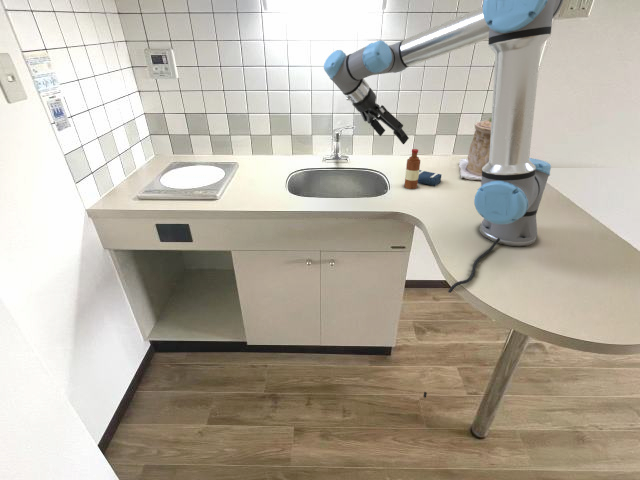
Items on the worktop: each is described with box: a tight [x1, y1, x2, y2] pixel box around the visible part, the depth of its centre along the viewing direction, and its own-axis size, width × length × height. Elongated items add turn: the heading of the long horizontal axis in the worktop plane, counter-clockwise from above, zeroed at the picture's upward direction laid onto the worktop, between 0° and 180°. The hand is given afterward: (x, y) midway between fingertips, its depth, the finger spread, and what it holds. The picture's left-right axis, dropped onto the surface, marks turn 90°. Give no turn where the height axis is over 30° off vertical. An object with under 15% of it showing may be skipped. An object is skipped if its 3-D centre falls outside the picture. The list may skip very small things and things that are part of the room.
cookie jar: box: [458, 116, 492, 181], centre depth 145 cm, size 25×25×32 cm
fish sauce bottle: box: [404, 148, 421, 190], centre depth 137 cm, size 5×5×15 cm
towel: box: [418, 169, 443, 187], centre depth 144 cm, size 8×10×3 cm
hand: (393, 136), depth 126 cm, fingers open, 13 cm apart
